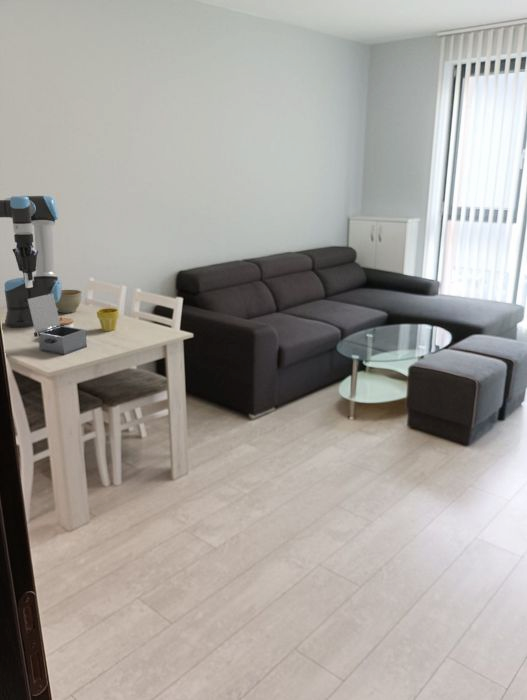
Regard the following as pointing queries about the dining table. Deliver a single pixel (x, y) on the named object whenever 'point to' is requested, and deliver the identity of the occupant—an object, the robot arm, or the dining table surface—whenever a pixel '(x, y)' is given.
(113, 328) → the plant pot
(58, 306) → the planter bowl
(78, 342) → the storage box
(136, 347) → the dining table surface
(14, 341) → the dining table surface
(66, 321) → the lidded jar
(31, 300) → the lid
